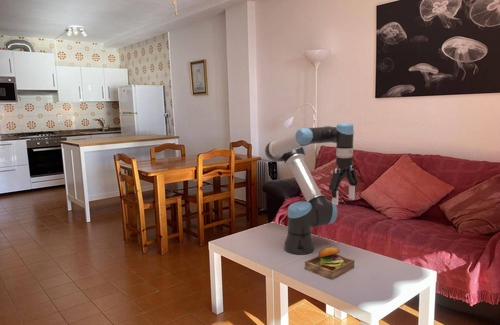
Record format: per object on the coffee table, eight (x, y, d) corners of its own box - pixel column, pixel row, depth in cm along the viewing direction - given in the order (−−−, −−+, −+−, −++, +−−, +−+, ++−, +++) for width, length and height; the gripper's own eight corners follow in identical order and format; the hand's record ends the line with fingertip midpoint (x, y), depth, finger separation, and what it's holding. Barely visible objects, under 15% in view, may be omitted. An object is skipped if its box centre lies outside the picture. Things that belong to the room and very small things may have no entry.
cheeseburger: (329, 274, 161) (326, 250, 162) (315, 270, 171) (312, 248, 171) (348, 269, 165) (345, 246, 166) (333, 265, 175) (330, 244, 176)
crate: (304, 268, 169) (304, 261, 169) (327, 258, 180) (327, 251, 180) (332, 279, 159) (332, 271, 158) (354, 267, 170) (354, 260, 169)
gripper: (335, 160, 164) (334, 208, 168) (366, 154, 181) (364, 198, 184) (321, 159, 170) (320, 205, 173) (352, 153, 187) (351, 195, 190)
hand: (343, 201), depth 179 cm, fingers open, 13 cm apart
